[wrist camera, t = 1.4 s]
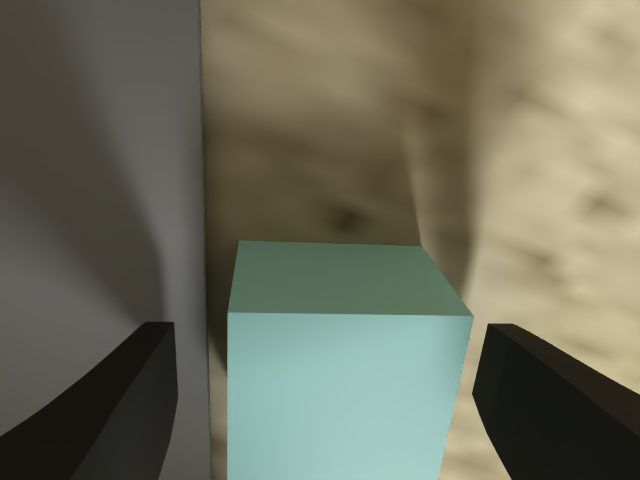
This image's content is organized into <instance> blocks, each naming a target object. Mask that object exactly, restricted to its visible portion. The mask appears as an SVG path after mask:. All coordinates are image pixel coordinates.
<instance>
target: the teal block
mask: <svg viewBox="0 0 640 480" xmlns="http://www.w3.org/2000/svg"><path fill="white" fill-rule="evenodd" d="M473 318H474V316H473V314H472V313H471V312H470V310H469V309H468V308H467V306H466V305H465V304H464V302H463V301H462V300H461V298H460V297H459V295H458V294H457V293H456V291H455V290H454V289H453V287H452V286H451V285H450V283H449V282H448V281H447V279H446V278H445V277H444V275H443V274H442V273H441V271H440V270H439V269H438V267H437V266H436V265H435V263H434V262H433V261H432V259H431V258H430V257H429V255H428V254H427V253H426V251H425V250H424V249H423V247H422V246H403V245H372V244H341V243H310V242H279V241H247V240H239V243H238V250H237V256H236V262H235V269H234V275H233V282H232V288H231V294H230V301H229V307H228V358H227V480H438V477H439V472H440V468H441V463H442V458H443V454H444V449H445V445H446V440H447V436H448V431H449V427H450V422H451V418H452V413H453V409H454V404H455V400H456V395H457V390H458V386H459V381H460V377H461V372H462V368H463V363H464V359H465V354H466V350H467V345H468V341H469V336H470V332H471V327H472V322H473Z"/></svg>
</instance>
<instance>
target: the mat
mask: <svg viewBox="0 0 640 480" xmlns="http://www.w3.org/2000/svg"><path fill="white" fill-rule="evenodd" d="M144 322H174V327H175V345H176V363H177V381H178V402H177V408H176V413H175V419H174V424H173V430H172V435H171V440H170V443H169V447H168V450H167V453H166V456H165V460H164V463H163V466H162V469H161V473H160V476H159V479H158V480H212V469H211V428H210V387H209V346H208V305H207V264H206V223H205V182H204V141H203V101H202V60H201V19H200V0H0V436H2V435H3V434H5V433H6V432H8V431H9V430H11V429H12V428H14V427H15V426H17V425H18V424H20V423H21V422H23V421H25V420H26V419H27V418H29V417H30V416H32V415H33V414H35V413H36V412H37V411H39V410H40V409H42V408H43V407H44V406H46V405H47V404H49V403H50V402H51V401H52V400H54V399H55V398H56V397H57V396H59V395H60V394H61V393H63V392H64V391H65V390H66V389H68V388H69V387H70V386H72V385H73V384H74V383H75V382H77V381H78V380H79V379H81V378H82V377H83V376H84V375H85V374H87V373H88V372H89V371H90V370H91V369H92V368H94V367H95V366H96V365H97V364H98V363H99V362H101V361H102V360H103V359H104V358H105V357H106V356H107V355H109V354H110V353H111V352H112V351H113V350H114V349H115V348H116V347H117V346H119V345H120V344H121V343H122V342H123V341H124V340H125V339H126V338H127V337H129V336H130V335H131V334H132V333H133V332H134V331H135V330H136V329H138V328H139V327H140V326H141V325H142V324H143V323H144Z"/></svg>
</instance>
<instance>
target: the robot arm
mask: <svg viewBox="0 0 640 480" xmlns="http://www.w3.org/2000/svg"><path fill="white" fill-rule="evenodd" d="M472 395H473V398H474V401H475V404H476V406H477V409H478V412H479V415H480V417H481V420H482V422H483V425H484V427H485V430H486V432H487V435H488V436H489V438H490V440H491V442H492V444H493V446H494V448H495V450H496V452H497V454H498V455H499V457H500V459H501V461H502V463H503V465H504V467H505V468H506V470H507V472H508V474H509V476H510V478H511V479H512V480H640V395H639V394H638V393H636V392H634V391H632V390H630V389H628V388H626V387H624V386H622V385H621V384H619V383H617V382H615V381H613V380H612V379H610V378H608V377H606V376H605V375H603V374H601V373H599V372H598V371H596V370H594V369H592V368H591V367H589V366H587V365H585V364H584V363H582V362H580V361H579V360H577V359H575V358H574V357H572V356H570V355H568V354H567V353H565V352H563V351H562V350H560V349H558V348H557V347H555V346H553V345H552V344H550V343H548V342H546V341H545V340H543V339H541V338H539V337H538V336H536V335H534V334H532V333H530V332H529V331H527V330H525V329H523V328H521V327H519V326H517V325H514V324H488V326H487V331H486V335H485V339H484V344H483V348H482V352H481V357H480V361H479V366H478V370H477V374H476V379H475V383H474V387H473V392H472ZM177 402H178V381H177V363H176V345H175V327H174V322H144V323H143V324H142V325H141V326H140V327H139V328H138V329H136V330H135V331H134V332H133V333H132V334H131V335H130V336H129V337H127V338H126V339H125V340H124V341H123V342H122V343H121V344H120V345H119V346H117V347H116V348H115V349H114V350H113V351H112V352H111V353H110V354H109V355H107V356H106V357H105V358H104V359H103V360H102V361H101V362H99V363H98V364H97V365H96V366H95V367H94V368H92V369H91V370H90V371H89V372H88V373H87V374H85V375H84V376H83V377H82V378H81V379H79V380H78V381H77V382H75V383H74V384H73V385H72V386H70V387H69V388H68V389H66V390H65V391H64V392H63V393H61V394H60V395H59V396H57V397H56V398H55V399H54V400H52V401H51V402H50V403H49V404H47V405H46V406H44V407H43V408H42V409H40V410H39V411H37V412H36V413H35V414H33V415H32V416H30V417H29V418H27V419H26V420H25V421H23V422H21V423H20V424H18V425H17V426H15V427H14V428H12V429H11V430H9V431H8V432H6V433H5V434H3V435H2V436H0V480H158V479H159V476H160V473H161V469H162V466H163V463H164V460H165V456H166V453H167V450H168V447H169V443H170V440H171V435H172V430H173V424H174V419H175V413H176V408H177Z"/></svg>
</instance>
